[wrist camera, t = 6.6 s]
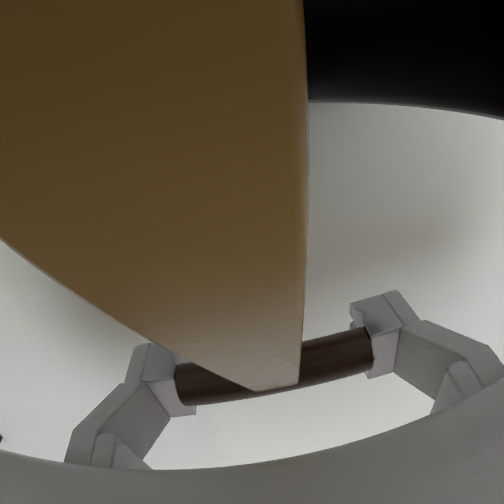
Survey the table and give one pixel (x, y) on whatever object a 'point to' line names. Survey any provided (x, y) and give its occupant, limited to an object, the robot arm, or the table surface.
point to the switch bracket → (407, 53)
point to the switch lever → (171, 180)
